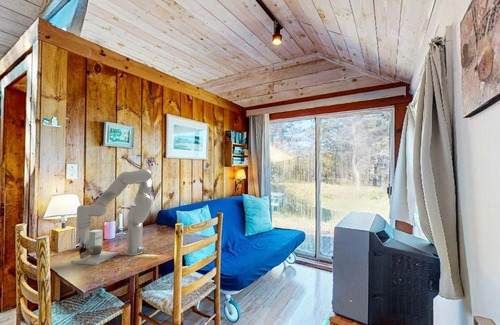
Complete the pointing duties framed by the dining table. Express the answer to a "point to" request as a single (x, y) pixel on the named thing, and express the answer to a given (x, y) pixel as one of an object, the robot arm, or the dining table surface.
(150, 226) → the dining table surface
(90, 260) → the post base
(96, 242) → the supplement box
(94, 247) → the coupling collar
